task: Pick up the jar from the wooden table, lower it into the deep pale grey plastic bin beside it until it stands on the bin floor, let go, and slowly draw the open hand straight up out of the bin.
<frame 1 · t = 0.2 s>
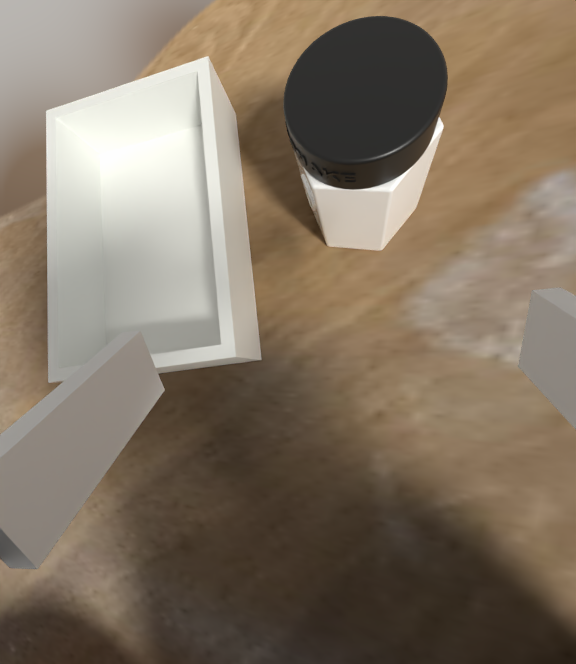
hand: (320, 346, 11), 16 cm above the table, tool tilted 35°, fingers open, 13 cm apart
jar: (360, 206, 28), on the table
bin: (171, 246, 31), on the table
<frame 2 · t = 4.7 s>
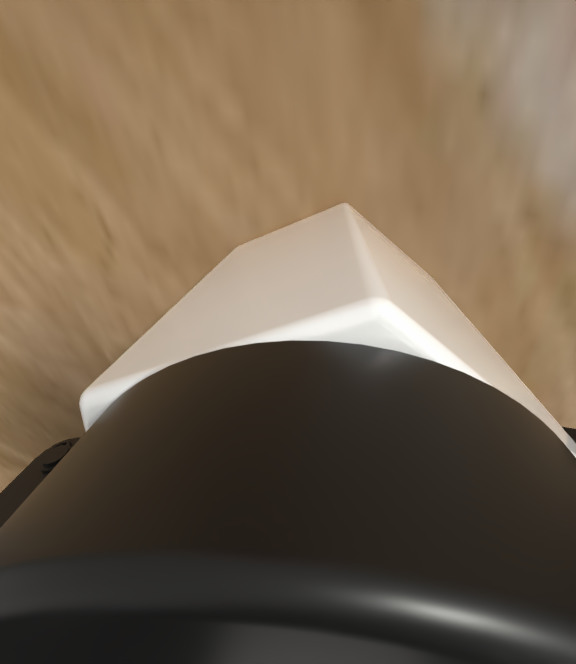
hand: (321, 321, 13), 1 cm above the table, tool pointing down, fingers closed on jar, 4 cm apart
jar: (322, 311, 14), on the table, touching gripper
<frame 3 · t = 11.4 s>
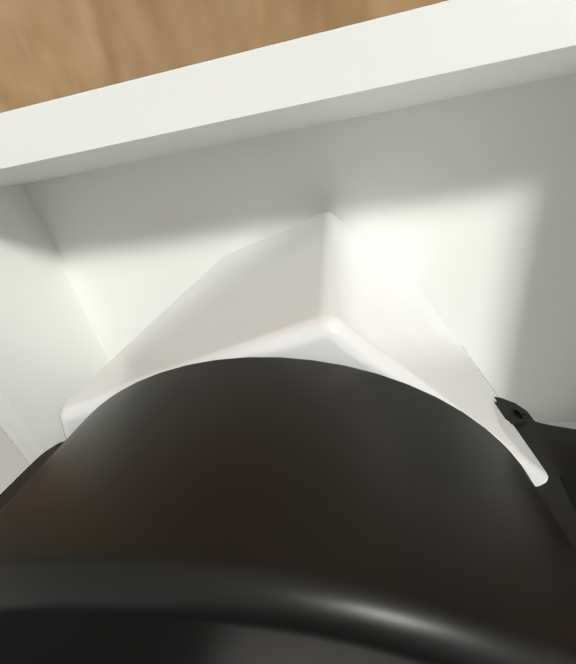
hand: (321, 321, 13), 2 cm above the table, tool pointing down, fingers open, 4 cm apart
jar: (311, 316, 14), point 1 cm above the table, touching bin, gripper
bin: (323, 303, 15), on the table
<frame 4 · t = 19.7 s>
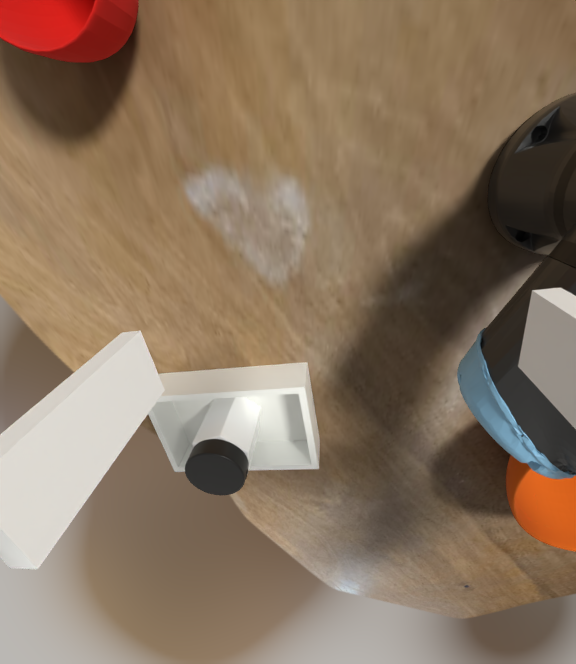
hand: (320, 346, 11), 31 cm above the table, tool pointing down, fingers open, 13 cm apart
jar: (237, 412, 53), point 1 cm above the table, touching bin
bin: (241, 407, 54), on the table
bowl: (570, 434, 49), on the table
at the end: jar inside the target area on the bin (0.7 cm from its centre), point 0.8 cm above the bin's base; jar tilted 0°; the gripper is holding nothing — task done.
